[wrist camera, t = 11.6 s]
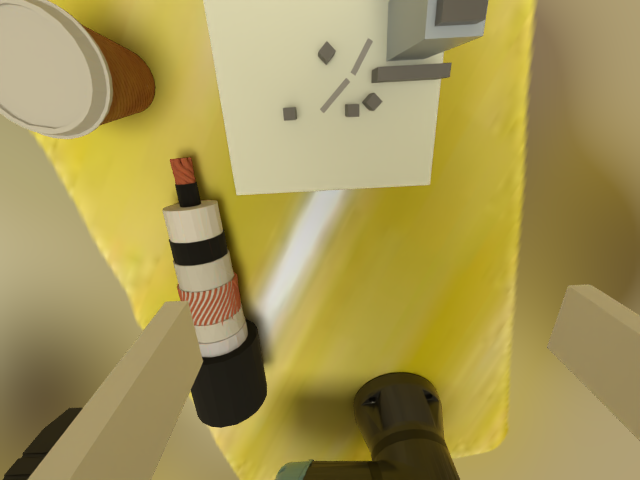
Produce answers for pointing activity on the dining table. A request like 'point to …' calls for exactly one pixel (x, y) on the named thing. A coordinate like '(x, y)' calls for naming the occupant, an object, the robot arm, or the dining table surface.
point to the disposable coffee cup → (65, 72)
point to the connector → (432, 26)
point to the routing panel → (321, 96)
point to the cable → (213, 307)
